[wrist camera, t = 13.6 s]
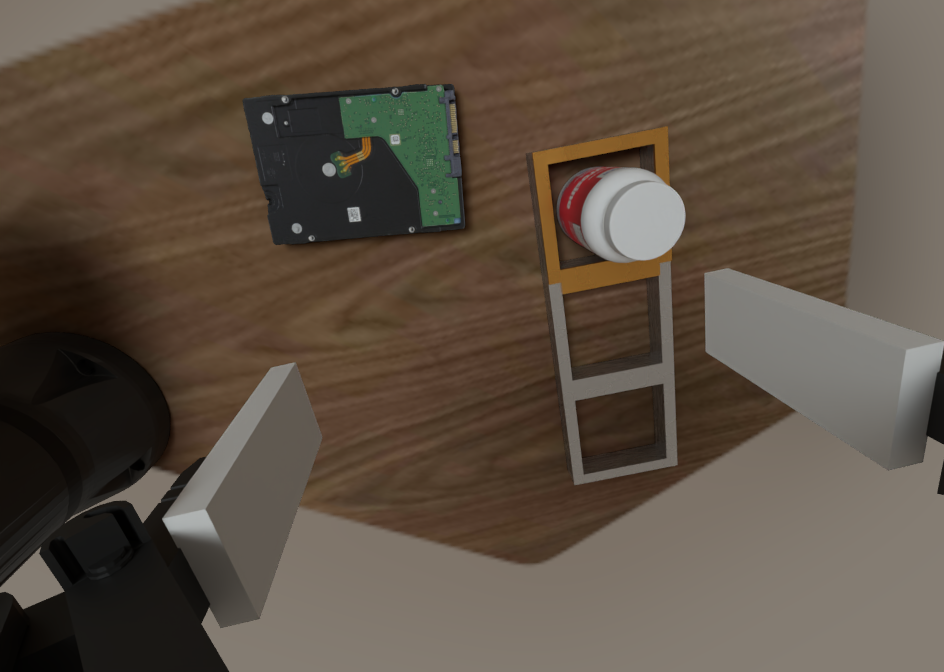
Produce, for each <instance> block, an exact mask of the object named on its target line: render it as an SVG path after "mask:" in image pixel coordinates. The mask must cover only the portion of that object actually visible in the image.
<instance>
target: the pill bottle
mask: <svg viewBox="0 0 944 672" xmlns="http://www.w3.org/2000/svg"><path fill="white" fill-rule="evenodd" d="M557 218H558V222H559V224H560V226H561V228H562V230H563V231H564V233H565V234H566V235H567V236H568V237H569V238H570V239H572V240H573V241H575V242H576V243H578V244H580V245H581V246H583V247H585V248H586V249H588V250H590V251H591V252H593V253H595V254H596V255H598V256H600V257H602V258H604V259H606V260H608V261H611V262H616V263H629V262H634V261H638V260H640V261H645V260H651V259H654V258H657V257H659V256H661V255H663V254H664V253H666V252H667V251H669V250H670V249H671V248H672V247H673V246H674V244H675V243H676V242H677V240H678V239H679V237H680V235H681V233H682V231H683V228H684V223H685V208H684V204H683V201H682V199H681V197H680V196H679V195H678V193H677V192H676V191H675V190H674V189H673V188H671V187H670V186H668V185H666V183H665V182H664V181H663V180H662V179H661V178H660V177H659V176H657V175H656V174H654V173H652V172H650V171H648V170H644V169H640V168H626V167H591V168H587V169H584V170H582V171H580V172H578V173H577V174H575V175H574V176H572V177H571V178H570V179H569V180H568V181H567V183H566V184H565V185H564V187H563V188H562V190H561V192H560V194H559V197H558V201H557Z"/></svg>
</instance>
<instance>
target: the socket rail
mask: <svg viewBox="0 0 944 672" xmlns="http://www.w3.org/2000/svg"><path fill="white" fill-rule="evenodd" d="M635 147H640V165H641V169H644V170H648V171H650V172H652V173H654V174H656V175H657V176H659V177H660V178H661V179H662V180H663V181H664V182H665V183H666V185H668V186H670V182H669V152H668V126H667V127H660V128H654V129H649V130H643V131H638V132H633V133H628V134H623V135H618V136H613V137H608V138H603V139H597V140H592V141H587V142H582V143H577V144H572V145H567V146H562V147H556V148H551V149H546V150H541V151H536V152H531V153H526V160H527V168H528V175H529V183H530V190H531V198H532V205H533V213H534V220H535V228H536V235H537V243H538V250H539V258H540V265H541V273H542V280H543V288H544V295H545V303H546V310H547V318H548V326H549V333H550V341H551V348H552V356H553V363H554V371H555V378H556V386H557V393H558V401H559V408H560V416H561V423H562V431H563V438H564V446H565V453H566V461H567V468H568V471H569V474H570V476H571V479H572V481H573V483H574V485H579V484H584V483H589V482H594V481H599V480H604V479H609V478H614V477H619V476H624V475H630V474H635V473H640V472H645V471H650V470H655V469H660V468H665V467H670V466H675V465H677V438H676V409H675V380H674V351H673V322H672V293H671V264H670V261H672V248H671V249H670V250H669V251H667V252H666V253H664V254H663V255H661V256H659V257H657V258H654V259H651V260H645V261H640V260H638V261H634V262H629V263H616V262H611V261H608V260H606V259H604V258H602V257H600V256H598V255H592V256H587V257H582V258H577V259H572V260H567V261H561V262H559V256H558V248H557V239H556V231H555V222H554V214H553V205H552V197H551V189H550V180H549V172H548V164H553V163H558V162H563V161H568V160H573V159H579V158H584V157H589V156H594V155H599V154H604V153H609V152H614V151H620V150H625V149H630V148H635ZM644 278H647V297H648V315H649V334H650V353H645V354H640V355H635V356H629V357H624V358H619V359H614V360H609V361H604V362H599V363H594V364H589V365H584V366H579V367H573V368H571V364H570V355H569V347H568V339H567V330H566V322H565V313H564V305H563V297H562V294H567V293H573V292H578V291H583V290H588V289H593V288H598V287H603V286H608V285H613V284H618V283H624V282H629V281H634V280H639V279H644ZM648 386H652V391H653V409H654V428H655V444H651V445H646V446H641V447H636V448H631V449H626V450H621V451H616V452H611V453H606V454H600V455H595V456H590V457H585V458H582V456H581V448H580V439H579V431H578V423H577V414H576V406H575V401H577V400H582V399H587V398H592V397H597V396H602V395H607V394H612V393H617V392H622V391H628V390H633V389H638V388H643V387H648Z"/></svg>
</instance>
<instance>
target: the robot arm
mask: <svg viewBox="0 0 944 672" xmlns="http://www.w3.org/2000/svg"><path fill="white" fill-rule="evenodd" d="M705 336H706V352H707V353H708V354H710V355H711V356H713V357H714V358H716V359H718V360H719V361H721V362H722V363H724V364H725V365H727V366H728V367H730V368H731V369H733V370H734V371H736V372H737V373H739V374H741V375H742V376H744V377H745V378H747V379H748V380H750V381H751V382H753V383H754V384H756V385H757V386H759V387H761V388H762V389H764V390H765V391H767V392H768V393H770V394H771V395H773V396H774V397H776V398H777V399H779V400H781V401H782V402H784V403H785V404H787V405H788V406H790V407H791V408H793V409H794V410H796V411H797V412H799V413H800V414H802V415H804V416H805V417H807V418H808V419H810V420H812V421H813V422H814V423H816V424H817V425H819V426H821V427H822V428H824V429H825V430H827V431H828V432H830V433H831V434H833V435H834V436H836V437H837V438H839V439H840V440H842V441H844V442H845V443H847V444H848V445H850V446H851V447H853V448H854V449H856V450H857V451H859V452H860V453H862V454H864V455H865V456H867V457H868V458H870V459H871V460H873V461H875V462H876V463H877V464H879V465H880V466H882V467H883V468H885V469H887V470H892V469H896V468H901V467H905V466H909V465H913V464H917V463H922V462H923V459H924V453H925V448H926V442H927V437H928V436H929V437H931V438H933V439H934V440H936V441H938V442H940V443H942V444H944V340H941V339H938V338H935V337H932V336H929V335H925V334H922V333H920V332H917V331H913V330H910V329H908V328H905V327H902V326H899V325H895V324H893V323H889V322H887V321H884V320H881V319H878V318H875V317H871V316H869V315H866V314H863V313H860V312H857V311H854V310H851V309H848V308H845V307H842V306H839V305H836V304H833V303H830V302H827V301H824V300H821V299H818V298H815V297H812V296H809V295H806V294H803V293H800V292H797V291H794V290H791V289H788V288H785V287H782V286H779V285H776V284H773V283H770V282H767V281H764V280H761V279H758V278H755V277H752V276H749V275H746V274H743V273H740V272H737V271H734V270H731V269H728V268H727V269H722V270H717V271H713V272H708V273H705ZM169 434H170V418H169V412H168V408H167V405H166V402H165V400H164V397H163V395H162V393H161V391H160V390H159V388H158V386H157V385H156V384H155V382H154V381H153V379H152V378H151V377H150V376H149V375H148V373H147V372H146V371H145V370H144V369H143V368H142V367H141V366H140V365H139V364H137V363H136V362H135V361H134V360H132V359H131V358H130V357H128V356H127V355H126V354H124V353H122V352H121V351H119V350H117V349H116V348H114V347H112V346H110V345H108V344H106V343H103V342H101V341H98V340H96V339H93V338H89V337H86V336H82V335H77V334H71V333H60V332H49V333H40V334H34V335H30V336H27V337H23V338H21V339H18V340H16V341H14V342H11V343H9V344H7V345H4V346H2V347H0V587H1V586H2V585H3V584H4V583H5V582H6V581H7V580H8V579H9V578H10V577H11V576H12V575H13V574H14V573H15V572H16V571H17V570H18V569H19V568H20V567H21V566H22V565H23V564H24V563H25V562H26V561H27V560H28V559H29V558H30V557H31V556H32V555H33V554H34V553H35V552H36V551H37V550H38V549H39V548H40V547H41V550H40V553H39V554H40V555H41V557H42V558H43V560H44V561H45V563H46V564H47V566H48V567H49V568H50V570H51V572H52V573H53V574H54V576H55V578H56V579H57V581H58V582H59V583H60V585H61V586H62V588H63V589H64V591H65V592H63V593H60V594H58V595H56V596H53V597H51V598H49V599H46V600H44V601H42V602H39V603H37V604H35V605H32V606H30V607H28V608H25V609H22V607H21V606H20V605H19V603H18V602H17V601H16V599H15V598H14V596H13V595H11V594H9V593H6V592H2V593H0V672H229V671H228V669H227V667H226V665H225V664H224V662H223V660H222V659H221V657H220V655H219V654H218V652H217V650H216V648H215V647H214V645H213V643H212V642H211V640H210V638H209V636H208V635H207V633H206V631H205V630H204V628H203V626H202V625H201V623H202V621H203V619H204V617H205V615H206V613H207V610H208V608H209V607H210V609H211V611H212V612H213V614H214V616H215V618H216V620H217V622H218V624H219V626H220V628H223V627H227V626H232V625H236V624H240V623H244V622H249V621H253V620H257V619H259V618H260V616H261V612H262V610H263V607H264V604H265V601H266V598H267V595H268V592H269V590H270V587H271V584H272V581H273V578H274V575H275V573H276V570H277V567H278V564H279V561H280V558H281V555H282V552H283V549H284V547H285V544H286V541H287V538H288V535H289V532H290V529H291V526H292V524H293V520H294V518H295V515H296V512H297V509H298V507H299V504H300V501H301V498H302V495H303V492H304V489H305V486H306V484H307V481H308V478H309V475H310V472H311V469H312V466H313V463H314V461H315V458H316V455H317V452H318V449H319V446H320V443H321V441H322V435H321V432H320V429H319V426H318V424H317V421H316V418H315V415H314V412H313V410H312V407H311V404H310V401H309V398H308V396H307V393H306V390H305V387H304V384H303V382H302V379H301V376H300V373H299V370H298V368H297V365H296V362H295V363H291V364H286V365H281V366H277V367H272V368H270V370H269V371H268V373H267V374H266V375H265V377H264V378H263V380H262V381H261V382H260V384H259V385H258V387H257V388H256V389H255V391H254V392H253V393H252V395H251V396H250V398H249V399H248V400H247V402H246V403H245V405H244V406H243V407H242V409H241V410H240V411H239V413H238V414H237V416H236V417H235V418H234V420H233V421H232V423H231V424H230V425H229V427H228V428H227V430H226V431H225V432H224V434H223V435H222V436H221V438H220V439H219V441H218V442H217V443H216V445H215V446H214V448H213V449H212V450H211V452H210V453H209V454H208V456H207V457H203V458H200V459H198V460H197V461H196V462H195V463H193V464H192V465H191V466H190V467H188V468H187V469H186V470H185V471H183V472H182V473H181V474H180V476H179V477H178V478H177V480H176V481H175V483H174V484H173V485H172V486H171V490H169V491H168V492H167V493H166V494H165V495H164V497H163V498H162V499H161V503H158V505H157V506H156V507H155V508H154V510H153V511H152V512H151V514H150V515H149V516H148V518H147V519H146V520H145V522H144V523H142V522H141V520H140V518H139V516H138V514H137V513H136V511H135V509H134V507H133V505H132V504H131V503H129V502H127V501H113V502H109V503H106V504H103V505H99V506H97V507H94V508H92V509H90V510H88V511H85V512H83V513H81V514H80V515H78V516H76V517H75V518H73V519H71V520H70V521H68V522H66V521H67V520H68V519H70V518H71V517H72V516H73V515H75V514H77V513H79V512H81V511H83V510H85V509H87V508H89V507H91V506H93V505H95V504H97V503H99V502H101V501H103V500H105V499H107V498H109V497H111V496H113V495H115V494H117V493H119V492H121V491H123V490H125V489H127V488H129V487H130V486H131V485H133V484H134V483H136V482H137V481H138V480H139V479H141V478H142V477H143V476H144V475H145V474H146V473H147V471H148V470H149V469H150V468H151V467H152V466H153V465H154V464H155V463H156V462H157V461H158V460H159V458H160V457H161V455H162V454H163V452H164V450H165V448H166V446H167V443H168V439H169ZM938 494H942V495H944V462H943V467H942V472H941V477H940V482H939V487H938ZM65 522H66V523H65ZM64 523H65V524H64Z"/></svg>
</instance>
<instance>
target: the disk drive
mask: <svg viewBox="0 0 944 672" xmlns="http://www.w3.org/2000/svg"><path fill="white" fill-rule="evenodd" d="M243 106H244V111H245V115H246V119H247V123H248V129H249V132H250V137H251V141H252V145H253V152H254V155H255V160H256V165H257V169H258V175H259V180H260V184H261V186H262V189H263V191H264V194H265V196H266V199H267V200H269V204H268V213H269V214H268V220H269V224H270V230H271V234H272V238H273V243H274V244H275V245H280V244H301V243H309V242H316V241H330V240H340V239H353V238H363V237H375V236H386V235H398V234H409V233H420V232H426V233H427V232H440V231H443V230H457V229H463V228H465V217H464V204H463V190H462V178H461V175H462V173H461V160H460V150H459V139H458V126H457V115H456V104H455V91H454V86H453V85H452V84H444V85H440V84H439V85H426V84H420V85H419V84H416V85H409V86H402V87H388V88H374V89H359V90H348V91H347V90H346V91H335V92H322V93H308V94H293V95H269V96H262V97H254V98H244V99H243Z"/></svg>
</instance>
